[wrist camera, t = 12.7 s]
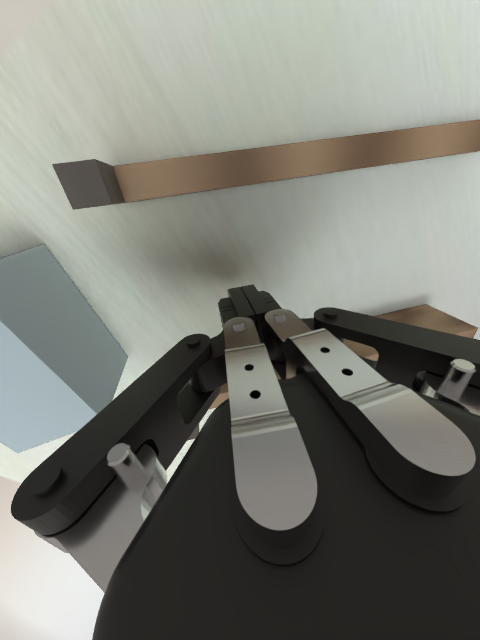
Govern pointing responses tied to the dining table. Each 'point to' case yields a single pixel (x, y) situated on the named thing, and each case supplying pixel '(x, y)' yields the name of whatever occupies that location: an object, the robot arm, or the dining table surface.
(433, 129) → the chute
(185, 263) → the dining table surface
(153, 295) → the dining table surface
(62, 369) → the slate block
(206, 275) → the dining table surface
